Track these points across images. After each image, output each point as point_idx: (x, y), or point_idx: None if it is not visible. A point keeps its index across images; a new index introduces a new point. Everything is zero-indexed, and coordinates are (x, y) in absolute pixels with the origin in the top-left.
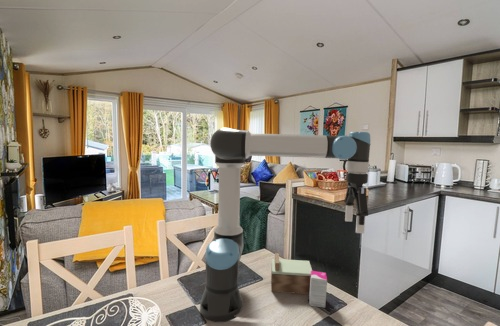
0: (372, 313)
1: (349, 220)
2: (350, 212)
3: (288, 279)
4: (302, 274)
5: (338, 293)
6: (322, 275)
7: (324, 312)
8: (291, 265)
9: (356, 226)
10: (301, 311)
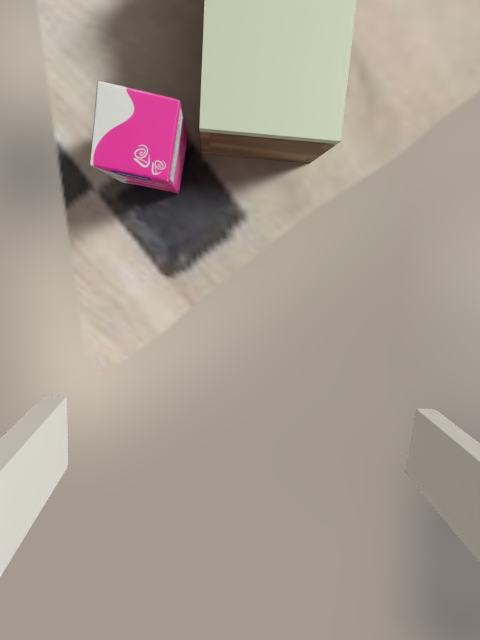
0: (122, 345)
1: (415, 451)
2: (474, 520)
3: None
4: (202, 69)
5: (230, 267)
6: (131, 151)
7: (108, 176)
8: (284, 17)
9: (19, 428)
10: None
